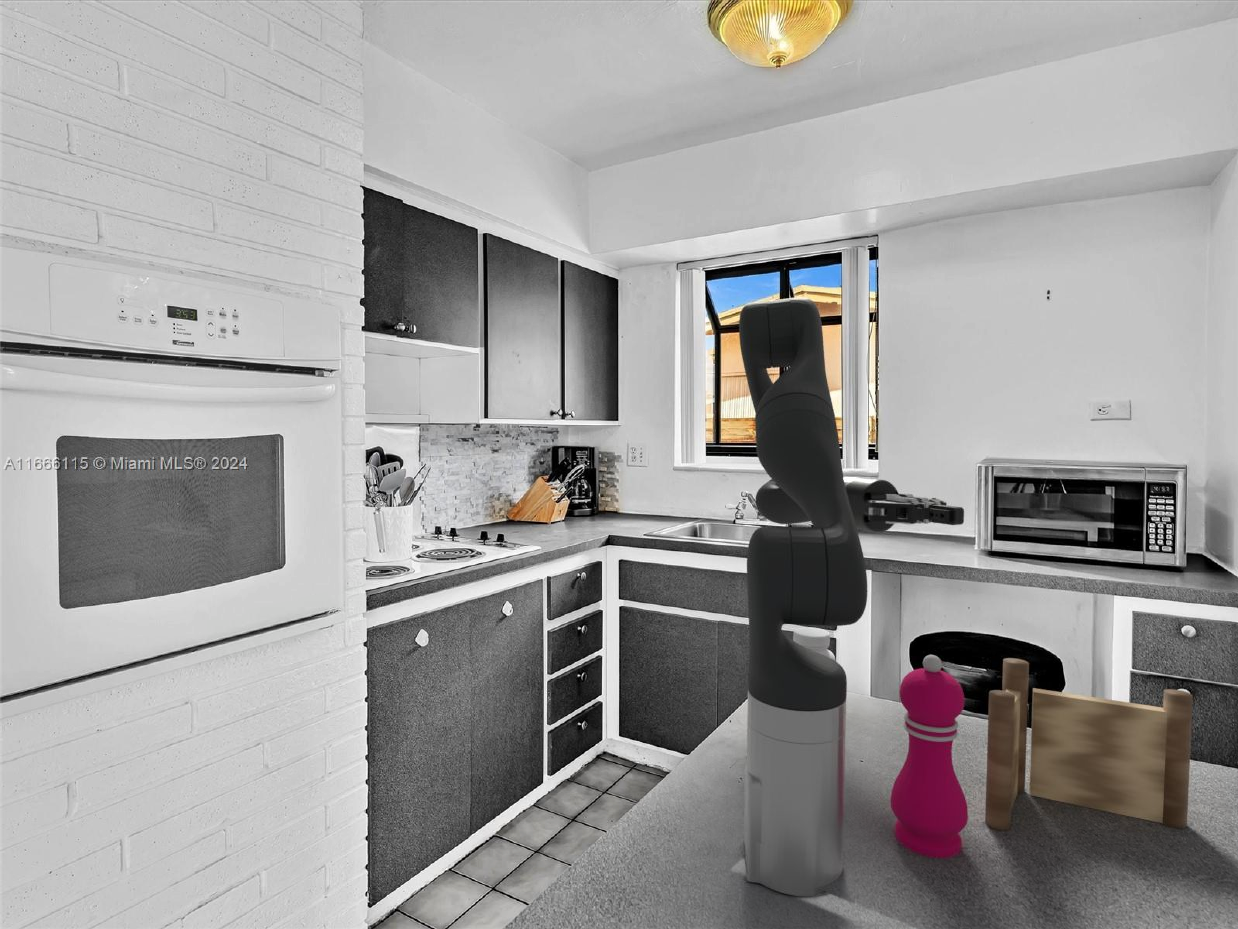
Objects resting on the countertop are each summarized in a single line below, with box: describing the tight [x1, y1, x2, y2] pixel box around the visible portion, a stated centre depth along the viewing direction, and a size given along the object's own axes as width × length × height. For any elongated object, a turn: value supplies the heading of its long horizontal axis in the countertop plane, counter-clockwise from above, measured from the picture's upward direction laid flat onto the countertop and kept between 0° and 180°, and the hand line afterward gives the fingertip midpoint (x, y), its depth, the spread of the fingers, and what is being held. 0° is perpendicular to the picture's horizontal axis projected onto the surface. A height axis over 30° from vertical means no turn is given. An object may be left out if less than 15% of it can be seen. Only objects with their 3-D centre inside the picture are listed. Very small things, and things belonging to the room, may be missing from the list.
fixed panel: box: [984, 657, 1030, 832], centre depth 79 cm, size 12×3×15 cm, turn 143°
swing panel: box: [1029, 687, 1194, 830], centre depth 78 cm, size 14×2×14 cm, turn 62°
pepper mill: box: [890, 654, 969, 859], centre depth 72 cm, size 7×7×20 cm
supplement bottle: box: [792, 626, 836, 661], centre depth 106 cm, size 7×7×13 cm
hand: (959, 516), depth 88 cm, fingers closed
